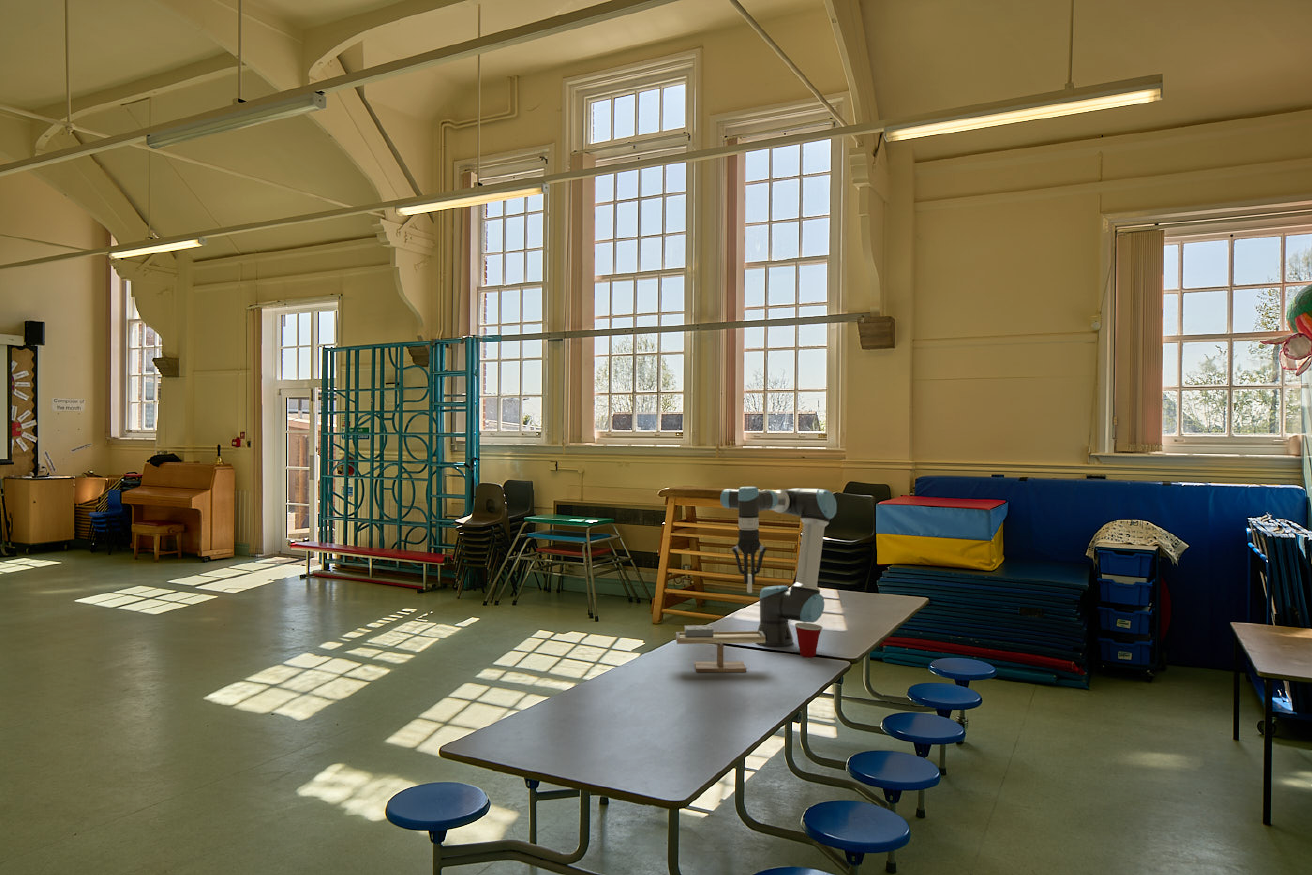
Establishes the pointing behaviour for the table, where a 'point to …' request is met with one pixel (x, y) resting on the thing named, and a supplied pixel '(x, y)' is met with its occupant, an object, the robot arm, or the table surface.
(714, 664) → the seesaw stand
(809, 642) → the plastic cup
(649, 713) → the table surface
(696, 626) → the iron block
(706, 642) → the seesaw beam
